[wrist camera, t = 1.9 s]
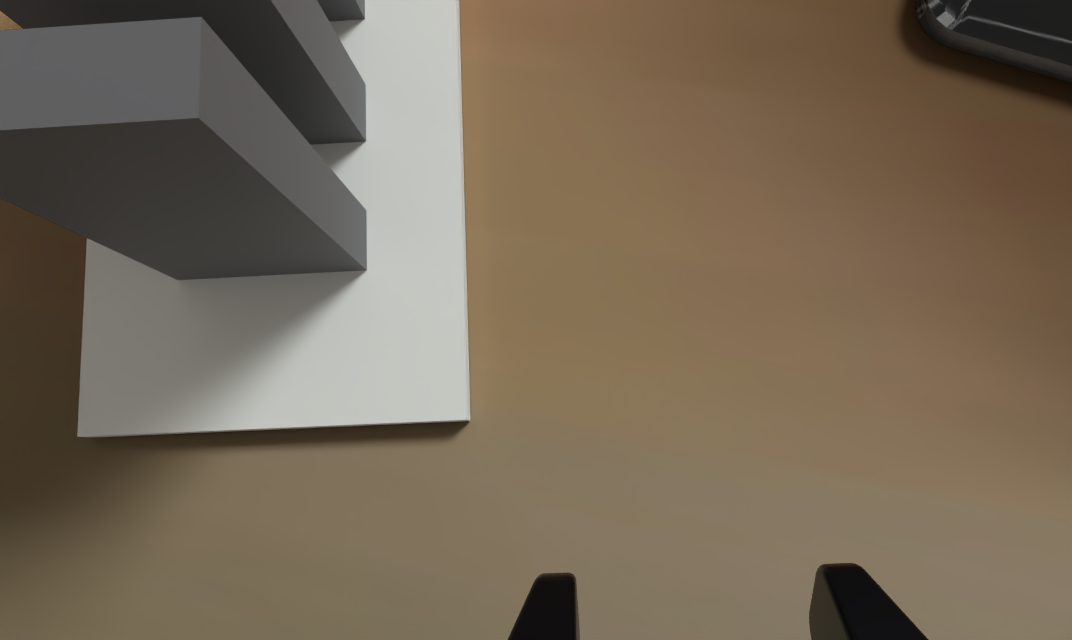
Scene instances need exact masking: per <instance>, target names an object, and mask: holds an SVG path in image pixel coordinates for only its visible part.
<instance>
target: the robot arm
mask: <svg viewBox="0 0 1072 640" xmlns="http://www.w3.org/2000/svg"><path fill="white" fill-rule="evenodd" d="M809 624H810V633H811V639H812V640H928V639H927V638H926V637H925V635H924V634H923V633H922V632H921V631H920V630H919V629H918V628H917V627H916V626H915V625H914V623H913V622H912V621H911V620H910V619H909V618H908V617H907V616H906V615H905V614H904V613H903V611H902V610H901V609H900V608H899V607H898V606H897V605H896V604H895V603H894V602H893V600H892V599H891V598H890V597H889V596H888V595H887V594H886V593H885V592H884V591H883V590H882V588H881V587H880V586H879V585H878V584H877V583H876V582H875V581H874V580H873V579H872V578H871V576H870V575H869V574H868V573H867V572H866V571H865V570H864V569H863V568H862V567H861V566H859V565H857V564H854V563H838V564H823V565H821V566H820V567H819V568H818V570H817V572H816V577H815V582H814V588H813V594H812V600H811V605H810V612H809ZM508 640H580V633H579V615H578V600H577V585H576V578H575V576H574V575H573V574H571V573H544V574H541V575H539V576H538V577H537V578H536V579H535V581H534V583H533V585H532V587H531V590H530V592H529V594H528V596H527V598H526V601H525V603H524V605H523V607H522V609H521V611H520V614H519V616H518V618H517V620H516V622H515V625H514V627H513V629H512V631H511V633H510V636H509V638H508Z"/></svg>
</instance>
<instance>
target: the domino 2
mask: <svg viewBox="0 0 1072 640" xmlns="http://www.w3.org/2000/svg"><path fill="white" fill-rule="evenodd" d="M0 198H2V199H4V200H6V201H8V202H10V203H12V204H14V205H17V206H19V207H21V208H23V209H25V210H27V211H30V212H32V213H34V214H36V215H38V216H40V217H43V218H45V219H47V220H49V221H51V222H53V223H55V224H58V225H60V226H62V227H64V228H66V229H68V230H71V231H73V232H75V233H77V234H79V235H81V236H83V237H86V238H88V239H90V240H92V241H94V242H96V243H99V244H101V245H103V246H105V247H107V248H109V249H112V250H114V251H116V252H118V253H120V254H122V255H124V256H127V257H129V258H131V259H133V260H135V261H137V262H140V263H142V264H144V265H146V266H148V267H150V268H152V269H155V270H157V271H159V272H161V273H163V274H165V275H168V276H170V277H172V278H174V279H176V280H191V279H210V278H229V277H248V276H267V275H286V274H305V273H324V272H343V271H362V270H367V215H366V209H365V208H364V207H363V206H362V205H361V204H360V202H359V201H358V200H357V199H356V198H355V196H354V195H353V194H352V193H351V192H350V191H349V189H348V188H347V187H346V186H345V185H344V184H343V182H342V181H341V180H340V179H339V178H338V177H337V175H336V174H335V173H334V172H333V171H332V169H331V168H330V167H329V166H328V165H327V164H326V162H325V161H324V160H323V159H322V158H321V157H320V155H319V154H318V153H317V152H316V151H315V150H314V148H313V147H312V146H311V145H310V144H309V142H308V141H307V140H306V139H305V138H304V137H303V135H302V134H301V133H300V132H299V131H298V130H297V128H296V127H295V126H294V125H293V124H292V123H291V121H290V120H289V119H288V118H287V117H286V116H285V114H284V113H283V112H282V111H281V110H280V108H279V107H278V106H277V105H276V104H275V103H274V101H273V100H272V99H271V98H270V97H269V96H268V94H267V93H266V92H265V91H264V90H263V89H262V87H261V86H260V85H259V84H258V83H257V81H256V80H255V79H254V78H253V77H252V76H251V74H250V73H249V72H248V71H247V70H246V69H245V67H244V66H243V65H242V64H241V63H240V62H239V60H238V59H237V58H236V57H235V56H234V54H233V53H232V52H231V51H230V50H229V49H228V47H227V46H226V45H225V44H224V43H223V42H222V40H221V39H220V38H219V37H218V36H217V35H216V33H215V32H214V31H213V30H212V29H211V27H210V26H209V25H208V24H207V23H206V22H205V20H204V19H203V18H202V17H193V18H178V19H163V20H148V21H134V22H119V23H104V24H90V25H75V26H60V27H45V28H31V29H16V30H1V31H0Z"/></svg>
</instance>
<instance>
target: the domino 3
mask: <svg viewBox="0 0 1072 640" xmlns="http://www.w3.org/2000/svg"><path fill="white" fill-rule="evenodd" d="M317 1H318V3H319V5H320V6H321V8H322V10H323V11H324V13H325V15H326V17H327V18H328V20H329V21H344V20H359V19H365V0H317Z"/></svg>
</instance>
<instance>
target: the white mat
mask: <svg viewBox="0 0 1072 640" xmlns="http://www.w3.org/2000/svg"><path fill="white" fill-rule="evenodd" d="M329 22H330V24H331V25H332V27H333V29H334V31H335V32H336V34H337V36H338V37H339V39H340V41H341V43H342V44H343V46H344V48H345V50H346V51H347V53H348V55H349V57H350V58H351V60H352V62H353V64H354V65H355V67H356V69H357V70H358V72H359V74H360V76H361V77H362V79H363V81H364V83H365V84H366V141H364V142H348V143H331V144H314V145H311V146H312V147H313V148H314V150H315V151H316V152H317V153H318V154H319V155H320V157H321V158H322V159H323V160H324V161H325V162H326V164H327V165H328V166H329V167H330V168H331V169H332V171H333V172H334V173H335V174H336V175H337V177H338V178H339V179H340V180H341V181H342V182H343V184H344V185H345V186H346V187H347V188H348V189H349V191H350V192H351V193H352V194H353V195H354V196H355V198H356V199H357V200H358V201H359V202H360V204H361V205H362V206H363V207H364V208H365V209H366V215H367V270H362V271H343V272H324V273H305V274H286V275H267V276H248V277H229V278H210V279H191V280H176V279H174V278H172V277H170V276H168V275H165V274H163V273H161V272H159V271H157V270H155V269H152V268H150V267H148V266H146V265H144V264H142V263H140V262H137V261H135V260H133V259H131V258H129V257H127V256H124V255H122V254H120V253H118V252H116V251H114V250H112V249H109V248H107V247H105V246H103V245H101V244H99V243H96V242H94V241H92V240H90V239H88V238H87V247H86V267H85V288H84V309H83V330H82V350H81V371H80V392H79V412H78V433H77V437H89V438H92V437H115V436H138V435H161V434H184V433H207V432H229V431H252V430H275V429H298V428H321V427H344V426H367V425H390V424H413V423H436V422H459V421H470V387H469V350H468V313H467V276H466V239H465V203H464V166H463V129H462V92H461V55H460V18H459V0H365V19H359V20H344V21H329Z"/></svg>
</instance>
